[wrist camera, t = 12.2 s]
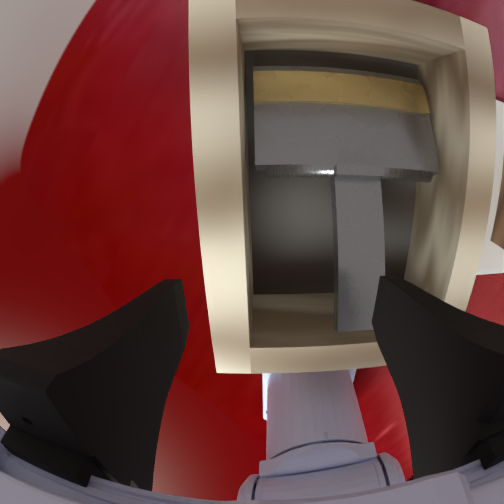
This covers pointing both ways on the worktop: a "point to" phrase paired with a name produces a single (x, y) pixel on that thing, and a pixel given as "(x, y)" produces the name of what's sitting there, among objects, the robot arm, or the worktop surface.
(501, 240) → the walnut bar
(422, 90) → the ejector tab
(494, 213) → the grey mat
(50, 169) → the worktop surface
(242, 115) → the pocket board
